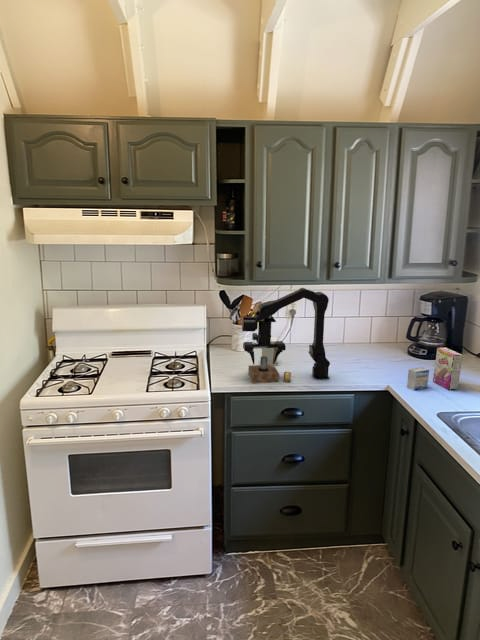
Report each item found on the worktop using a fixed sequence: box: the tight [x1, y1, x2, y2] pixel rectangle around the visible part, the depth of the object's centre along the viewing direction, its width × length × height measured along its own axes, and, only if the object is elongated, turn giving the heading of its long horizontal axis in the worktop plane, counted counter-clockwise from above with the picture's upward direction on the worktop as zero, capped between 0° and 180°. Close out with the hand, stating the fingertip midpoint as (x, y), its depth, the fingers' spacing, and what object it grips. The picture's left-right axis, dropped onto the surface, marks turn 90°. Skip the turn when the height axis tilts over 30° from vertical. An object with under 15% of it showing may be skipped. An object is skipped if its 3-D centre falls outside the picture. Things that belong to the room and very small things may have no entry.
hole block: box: [247, 364, 280, 384], centre depth 216 cm, size 12×12×4 cm
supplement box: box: [261, 336, 279, 367], centre depth 235 cm, size 7×7×13 cm
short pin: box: [283, 371, 292, 383], centre depth 213 cm, size 3×3×4 cm
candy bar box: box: [432, 346, 464, 391], centre depth 210 cm, size 11×5×16 cm, turn 17°
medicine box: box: [406, 366, 430, 391], centre depth 208 cm, size 8×4×9 cm, turn 114°
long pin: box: [260, 355, 268, 371], centre depth 216 cm, size 3×3×10 cm
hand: (263, 364), depth 215 cm, fingers open, 9 cm apart
